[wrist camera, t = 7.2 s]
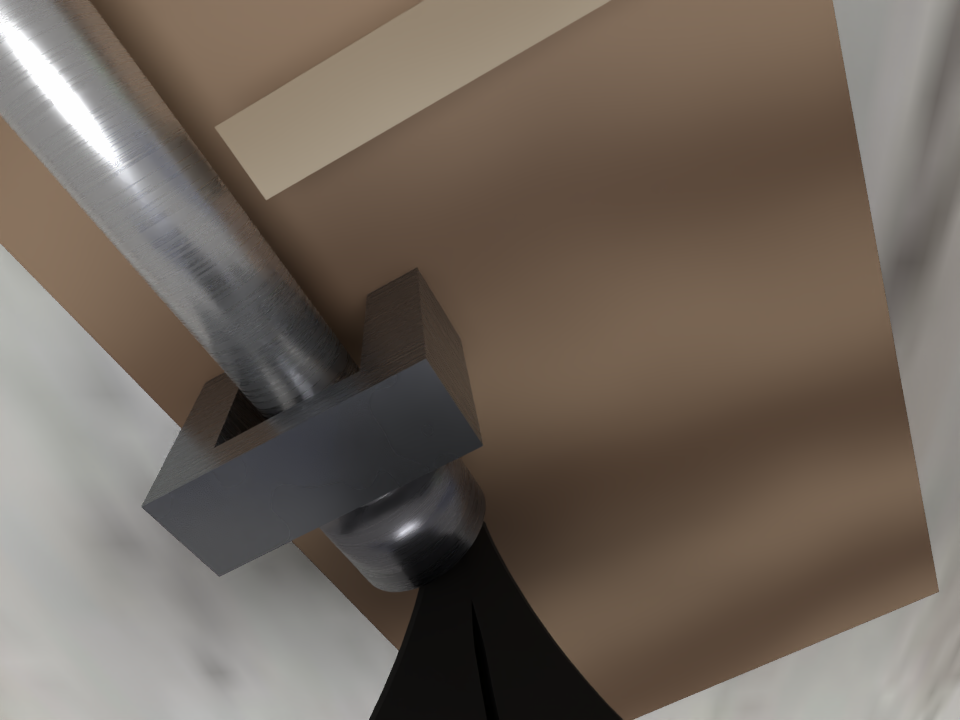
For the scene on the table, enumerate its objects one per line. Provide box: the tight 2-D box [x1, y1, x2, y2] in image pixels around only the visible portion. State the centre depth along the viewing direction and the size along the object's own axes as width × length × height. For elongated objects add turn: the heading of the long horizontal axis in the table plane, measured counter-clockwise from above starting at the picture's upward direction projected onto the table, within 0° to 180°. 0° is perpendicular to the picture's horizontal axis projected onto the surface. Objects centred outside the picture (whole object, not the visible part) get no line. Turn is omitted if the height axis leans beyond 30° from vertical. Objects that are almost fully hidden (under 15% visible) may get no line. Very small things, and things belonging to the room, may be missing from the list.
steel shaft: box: [0, 0, 486, 592], centre depth 8 cm, size 16×3×3 cm, turn 27°
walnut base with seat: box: [0, 0, 939, 720], centre depth 11 cm, size 29×13×3 cm, turn 27°
